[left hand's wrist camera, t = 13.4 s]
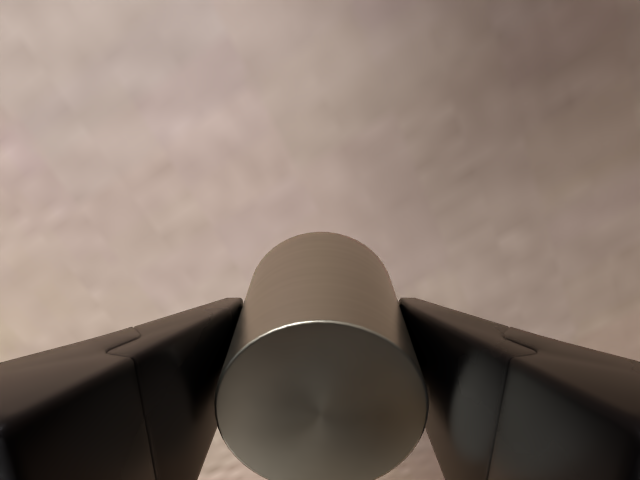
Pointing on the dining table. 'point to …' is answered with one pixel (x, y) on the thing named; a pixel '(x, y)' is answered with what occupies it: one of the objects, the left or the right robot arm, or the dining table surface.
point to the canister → (321, 367)
